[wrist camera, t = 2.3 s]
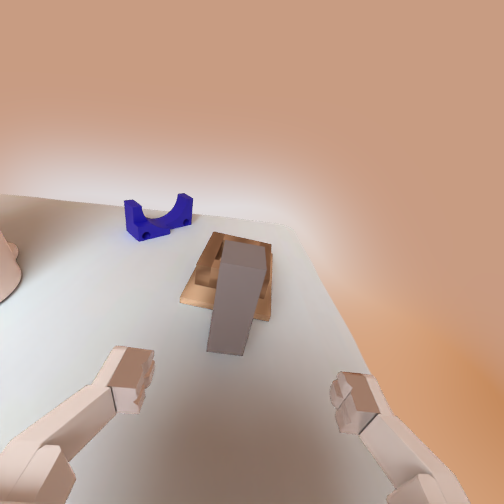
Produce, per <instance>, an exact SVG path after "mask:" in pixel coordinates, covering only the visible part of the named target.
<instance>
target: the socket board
mask: <svg viewBox="0 0 504 504" xmlns="http://www.w3.org/2000/svg"><path fill="white" fill-rule="evenodd" d="M225 240H229V241H235V242H241V243H246V244H252V245H258V246H263V247H265V255H266V267H267V271H266V275H265V278H264V282H263V285H262V289H261V292H260V296H259V299H258V303H257V306H256V310H255V313H254V317H253V318H254V319H259V320H264V321H268V322H269V319H270V315H271V284H272V253H271V244H268V243H263V242H259V241H254V240H250V239H245V238H240V237H236V236H231V235H227V234H222V233H218V232H213V234H212V236H211V238H210V240H209V241H208V243H207V245H206V247H205V249H204V251H203V253H202V255H201V256H200V258H199V260H198V262H197V264H196V268H195V270H194V272H193V273H192V275H191V277H190V279H189V281H188V283H187V285H186V287H185V289H184V291H183V293H182V294H181V296H180V303H184V304H188V305H193V306H198V307H202V308H207V309H212V310H213V306H214V300H215V293H216V287H217V280H218V274H219V268H220V262H221V257H222V252H223V247H224V243H225Z"/></svg>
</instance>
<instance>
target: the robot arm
mask: <svg viewBox="0 0 504 504" xmlns="http://www.w3.org/2000/svg"><path fill="white" fill-rule="evenodd" d="M18 253H19V250H18V248H17V247H16V245H15V244H14V243H10V242H6V240H5V238H4V236H3V234H2V232H1V231H0V302H1V301H2V300H4V299H5V298H6V297H7V296H8V295H10V294H11V293H12V292H13V290H14V289H15V288H16V287H17V285H18V284H19V282H20V279H21V269H20V267H19V266H18V264H17V263H16V258H17V256H18ZM153 358H154V350H147V349H139V348H131V347H124V346H115V347H114V348H113V349H112V351H111V352H110V354H109V356H108V357H107V359H106V361H105V362H104V364H103V366H102V368H101V369H100V371H99V373H98V374H97V376H96V378H95V379H94V381H93V383H92V384H91V385H86V386H85V387H83V388H82V389H81V390H79V391H78V392H77V393H75V394H74V395H72V396H71V397H70V398H68V399H67V400H66V401H64V402H63V403H61V404H60V405H59V406H57V407H56V408H55V409H53V410H52V411H50V412H49V413H48V414H46V415H45V416H43V417H42V418H41V419H39V420H38V421H37V422H35V423H34V424H32V425H31V426H30V427H28V428H27V429H26V430H24V431H23V432H21V433H20V434H19V435H17V436H16V437H15V438H13V439H12V440H11V441H10V442H9V443H8V445H7V446H6V447H5V449H4V450H3V451H2V453H1V454H0V504H65V502H66V500H67V498H68V496H69V494H70V491H71V489H72V487H73V485H74V483H75V481H76V477H75V474H74V472H73V470H72V468H71V466H70V464H69V463H68V462H69V461H70V460H71V459H72V458H73V457H74V456H75V455H76V454H77V453H78V452H79V451H80V450H81V449H82V448H83V447H84V446H85V445H86V444H87V443H88V442H89V441H90V440H91V439H92V438H93V437H94V436H95V435H96V434H97V433H98V432H99V431H100V430H101V429H102V428H103V427H104V426H105V425H106V424H107V423H108V422H109V421H110V420H111V419H112V418H113V417H114V416H115V415H116V413H124V414H139V413H140V410H141V407H142V405H143V402H144V399H145V397H146V396H145V389H146V388H147V387H149V386H150V383H151V381H152V378H153V374H154V369H155V362H154V361H153ZM330 399H331V402H332V405H333V406H334V407H335V408H336V410H337V411H336V414H335V417H336V421H337V425H338V428H339V432H340V433H347V434H355V435H359V438H360V439H361V440H362V442H363V443H364V445H365V446H366V447H367V449H368V450H369V452H370V453H371V455H372V456H373V457H374V459H375V460H376V462H377V463H378V464H379V466H380V467H381V469H382V470H383V472H384V473H385V474H386V476H387V477H388V479H389V480H390V481H391V483H392V484H393V486H394V487H395V489H396V490H395V491H393V492H392V493H390V494H389V495H388V496H387V498H386V500H387V503H388V504H471V503H470V501H469V499H468V497H467V496H466V494H465V492H464V490H463V488H462V487H461V485H460V483H459V481H458V480H457V478H456V476H455V475H454V474H453V473H452V472H451V470H450V469H448V467H447V466H446V465H444V463H442V461H441V460H440V459H439V458H438V457H437V456H436V455H435V454H434V453H433V452H432V451H431V450H430V449H429V448H428V447H427V446H426V445H425V444H424V443H423V442H422V441H421V440H420V439H419V438H418V437H417V436H416V435H415V434H414V433H413V432H412V431H411V430H410V429H409V428H408V427H407V426H406V425H405V424H404V423H403V422H402V421H401V420H400V419H399V418H398V417H397V416H394V415H393V414H392V411H391V409H390V407H389V405H388V403H387V401H386V399H385V396H384V394H383V392H382V390H381V388H380V386H379V384H378V382H377V379H376V378H375V377H374V376H373V375H367V374H361V373H350V372H339V373H338V374H337V380H335V381H333V382H332V384H331V386H330Z"/></svg>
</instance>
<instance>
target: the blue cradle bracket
mask: <svg viewBox="0 0 504 504" xmlns="http://www.w3.org/2000/svg"><path fill="white" fill-rule="evenodd" d="M124 206H125V217H126V228H127V231H128V232H129V233H130V234H131V235H132V236H133V237H134V238H135V239H136V240H138V241H139V242H140V241H144V240H148V239H152V238H156V237H160V236H164V235H168V234H170V229H174V228H179V227H183V226H187V225H191V220H192V206H193V198H191V197H190V196H188V195H186V194H185V193H182V194H178V197H177V201H176V204H175V206H174V207H173V209H172V210H171V211H170V212H169V213H168V214H166V215H165V216H163V217H160V218H156V219H150V218H146V217H145V216H144V214H143V212H142V206H141V205H139V204H138V203H137V202H136V201H134V200H125V201H124Z"/></svg>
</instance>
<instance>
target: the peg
mask: <svg viewBox="0 0 504 504" xmlns="http://www.w3.org/2000/svg"><path fill="white" fill-rule="evenodd" d="M266 271H267V267H266V255H265V247H263V246H258V245H252V244H246V243H241V242H235V241H229V240H225V243H224V247H223V252H222V257H221V262H220V268H219V274H218V280H217V287H216V293H215V300H214V306H213V312H212V319H211V325H210V332H209V338H208V344H207V352H215V353H223V354H231V355H239V356H242V355H243V352H244V348H245V345H246V341H247V338H248V334H249V331H250V327H251V324H252V320H253V317H254V313H255V310H256V306H257V303H258V299H259V296H260V292H261V289H262V285H263V282H264V278H265V275H266Z"/></svg>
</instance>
